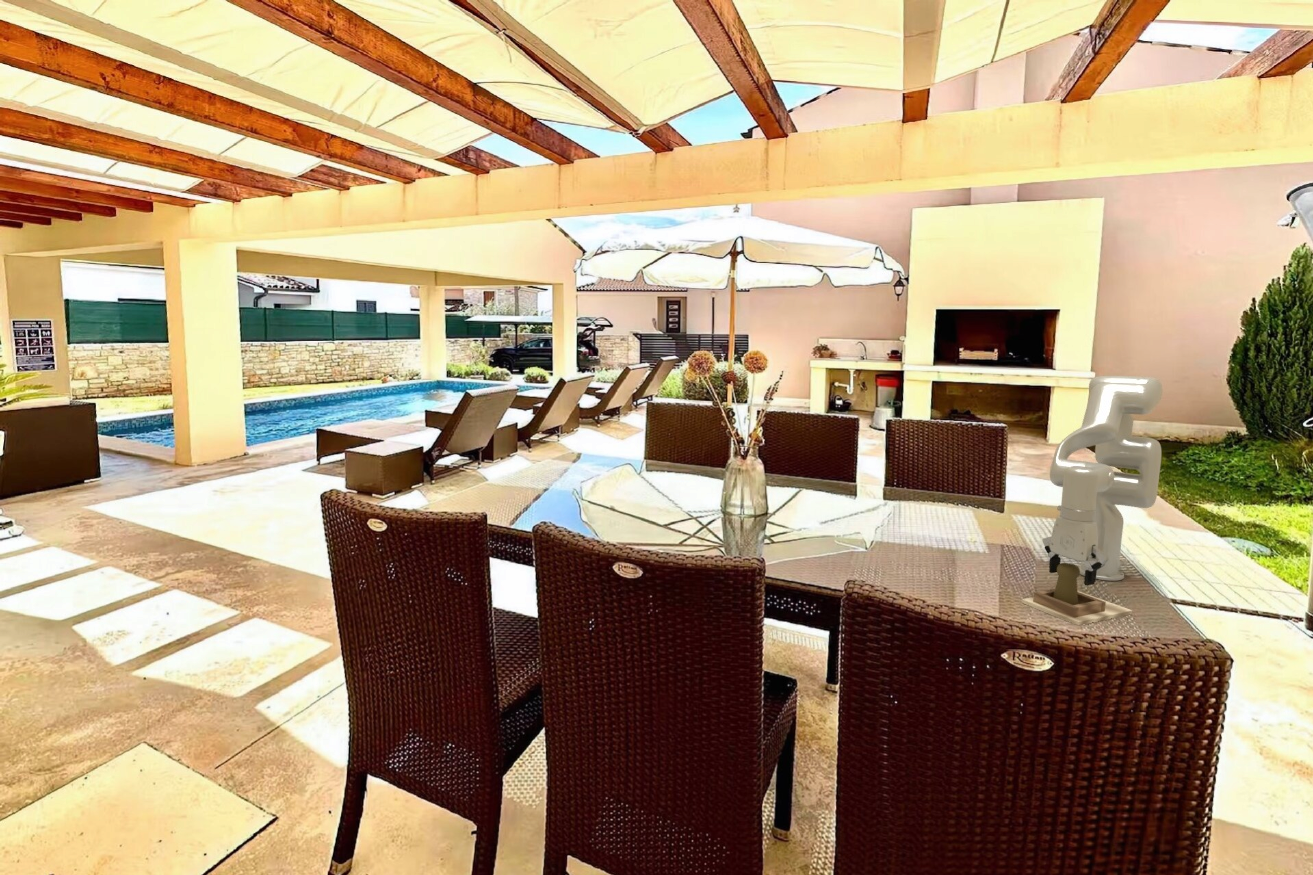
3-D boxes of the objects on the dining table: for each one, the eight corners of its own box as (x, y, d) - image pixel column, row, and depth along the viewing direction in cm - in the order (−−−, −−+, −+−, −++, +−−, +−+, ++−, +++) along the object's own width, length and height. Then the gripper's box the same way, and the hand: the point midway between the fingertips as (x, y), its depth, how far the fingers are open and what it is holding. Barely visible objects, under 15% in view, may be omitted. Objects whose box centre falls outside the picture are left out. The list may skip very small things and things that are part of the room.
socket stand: (1073, 592, 190) (1074, 580, 190) (1131, 614, 176) (1133, 601, 175) (1021, 602, 183) (1023, 590, 182) (1078, 625, 168) (1079, 612, 167)
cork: (1049, 605, 179) (1053, 564, 177) (1054, 598, 183) (1057, 559, 182) (1076, 611, 175) (1080, 569, 173) (1080, 604, 179) (1084, 563, 178)
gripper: (1036, 507, 181) (1031, 569, 184) (1100, 524, 165) (1093, 591, 168) (1056, 505, 184) (1051, 566, 186) (1121, 521, 168) (1114, 587, 171)
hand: (1071, 578), depth 177 cm, fingers open, 9 cm apart
